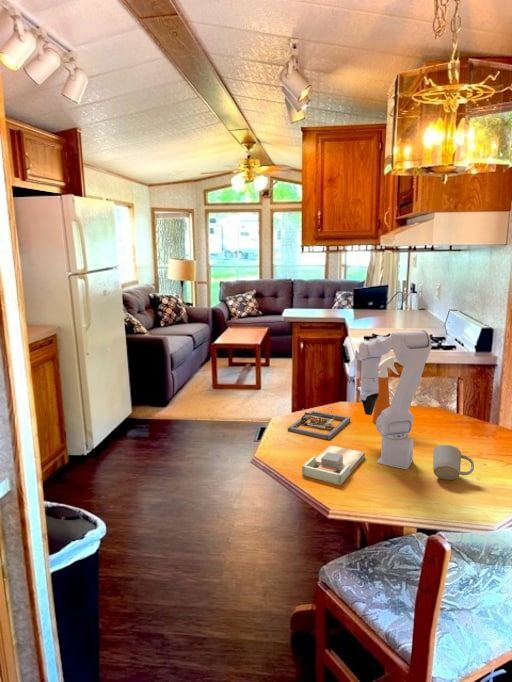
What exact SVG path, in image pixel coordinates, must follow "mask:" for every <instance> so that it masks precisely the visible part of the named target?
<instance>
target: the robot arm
mask: <svg viewBox="0 0 512 682" xmlns="http://www.w3.org/2000/svg"><path fill="white" fill-rule="evenodd" d="M431 339H432V338H431V335H430V334H429V333H428V331H427V330H424V329H421V330H413V331H412V330H411V331H394V332H392V333H390V335H389V336H383V335H377V336H376V338H374V339H373V338H372V339H370V340H369V341H368V342H367V341H366V342H365V341H362V342H361V343H359V346H358V355H359V357H360V359H361V370H360V371H361V372H360V373H361V375H360V376H361V377H360V386H358V387H357V391H360V393H359V401H361V403H362V407H363V411H364V415H365V416H373V412H374V405H375V402H376V400H377V398H378V396H379V394H377V392H378V375H379V363H380V362H382V357H383V356H384V355H388V354H389V353H390V351H391V350H392V351H393V354H394V356H396V360H397V364H399V365H400V366H402V367H403V368H402V371H401V373H400V376H399V380H398V383H397V386H396V388H395V391H394V394H393V397H392V399H391V403H390V406H389V407H388V408H386V409H385V410H383V411H382V412H381V415H380V416H378V418H377V421H376V424H375V426H376V431H377V432H378V433H379V435H380V436H381V447H380V449H381V451H380V457H379V458H378V460H377V461H376V463H377V464H380V465H384V466H387V467H388V466H389V467H392V468H397V469H398V468H399V469H402V470H408V469H409V468H410V466H411V464H412V463H413V461H414V438H412V437H410V436H409V433H411V432H412V430H413V424H414V423H413V421H414V416H413V415H414V414H413V413H412V412H411V411H410V407H411V405H412V402H413V400H414V397H415V394H416V392H417V389H418V386H419V383H420V381H421V378H422V376H423V372H424V370H425V364H426V362H427V360H428V357H429V355H430V352H431V349H432V348H433V344H432V341H431Z"/></svg>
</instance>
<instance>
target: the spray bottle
mask: <svg viewBox="0 0 512 682" xmlns="http://www.w3.org/2000/svg"><path fill="white" fill-rule="evenodd" d="M396 360H397V359H396V356H395V355H393V356H389V357H387V358H385V359H384V360H381V362H380V363H379V372H378V392H377V394H379V396H378V398H377V400H376V402H375V405H374V409H373V413H372V423H373V424H374V425H376V421H377V418H378V416H380V415H381V412H382V411H383V410H385V409H386V408H388V407H389V406H390V405H391V403H390V387H389V371H388V368H389V369H390V370H391V371H392V372H393V373H394V374H396V375H398V376H399V375H400V374H399V373H398V371H397V368H396V367H395V361H396Z"/></svg>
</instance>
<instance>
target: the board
mask: <svg viewBox="0 0 512 682" xmlns="http://www.w3.org/2000/svg"><path fill="white" fill-rule="evenodd" d="M327 452H330V453H334V454H339V455H343V463H342V464H341V466H340V467H339V468H338V469H336V472H339V473H340V472H341V471H342V470H343V469H344V468H345V466H346V465H347V464H350V475H351V474H352V472H354V470H355V469H356V468H357V467H358V466H359V465H360V463H361V462H362V461H363V460H364V459H365V456H366V452H364V451H360V450H355V449H349V448H344V447H339V446H335V445H331V444H330V445H329V446H327V447H326V448H325V449H324V450H323V451H322V452H321V453H320V454H319V455H318V456H316V466H317V467H319V466H320V465H321V458H322V457H323V456H324V455H325V454H326V453H327ZM316 466H315V467H316Z"/></svg>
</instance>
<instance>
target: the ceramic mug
mask: <svg viewBox="0 0 512 682" xmlns="http://www.w3.org/2000/svg"><path fill="white" fill-rule="evenodd" d="M432 454H433V455H432V456H433V457H432V459H433V460H432V462H433V464H432V465H433V466H432V469H433V473H434V475H435V476H436V478H438V479H440V480H445V481H453V480H456V479H458V478H459V476H468V475H471V474H472V473H473V471H474V469H475V463H474V460H473V459H472V458H470V457H469V456H467V455H464V454H462V452H461V450H460V449H459V448H458V447H456V446H453V445H450V444H439V445H437V446H435V447H434V448H433V452H432ZM462 459H464V460H466V461H468V462H469V463H470V465H471V466H470V468H469V470H468V471H461V464H462V463H461V462H462Z"/></svg>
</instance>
